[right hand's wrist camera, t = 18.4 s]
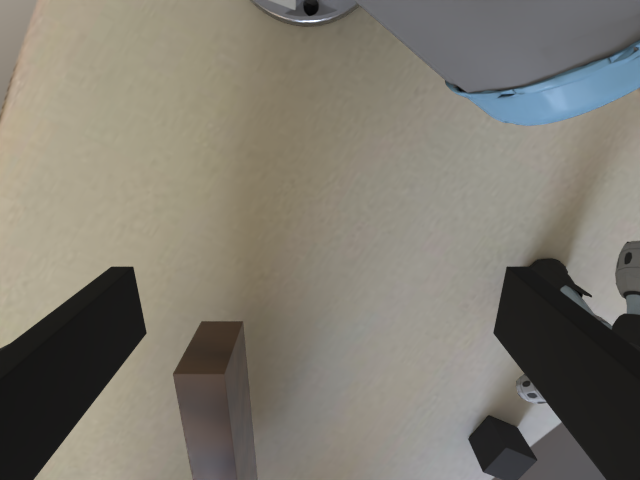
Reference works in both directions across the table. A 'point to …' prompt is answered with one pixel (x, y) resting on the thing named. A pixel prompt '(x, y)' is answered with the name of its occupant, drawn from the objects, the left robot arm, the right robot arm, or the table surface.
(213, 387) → the walnut plank
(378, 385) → the table surface
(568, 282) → the robot
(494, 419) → the charcoal rubber block
